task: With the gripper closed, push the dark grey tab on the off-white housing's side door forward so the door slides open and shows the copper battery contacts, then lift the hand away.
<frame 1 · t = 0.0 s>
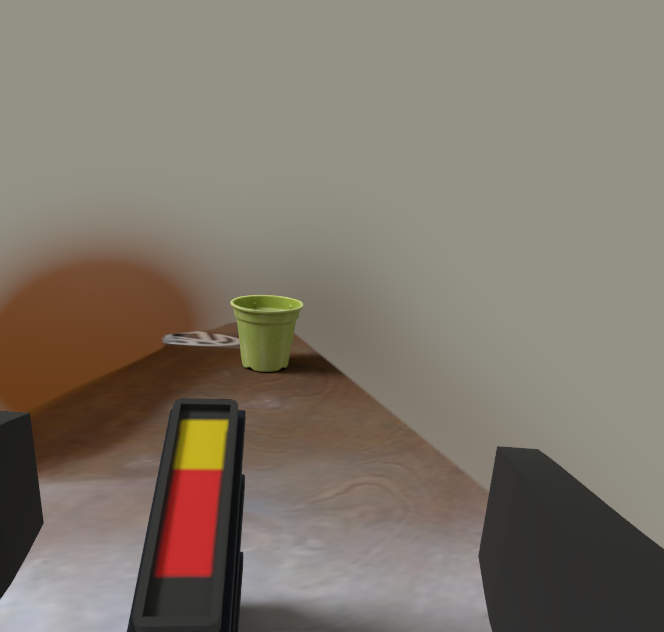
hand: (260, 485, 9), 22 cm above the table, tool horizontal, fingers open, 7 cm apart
plant pot: (265, 366, 80), on the table
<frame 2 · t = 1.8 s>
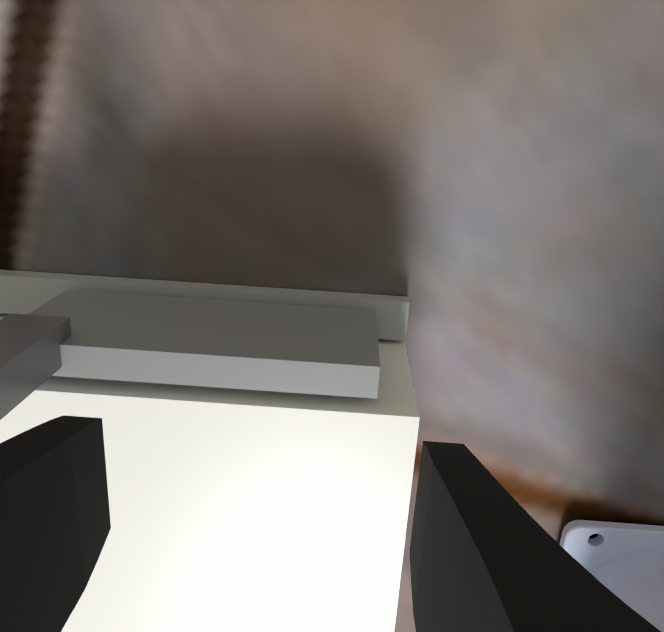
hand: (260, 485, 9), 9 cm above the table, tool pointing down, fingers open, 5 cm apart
camera housing: (93, 428, 20), on the table
side door: (186, 353, 14), point 5 cm above the table, slide at 0.0 cm
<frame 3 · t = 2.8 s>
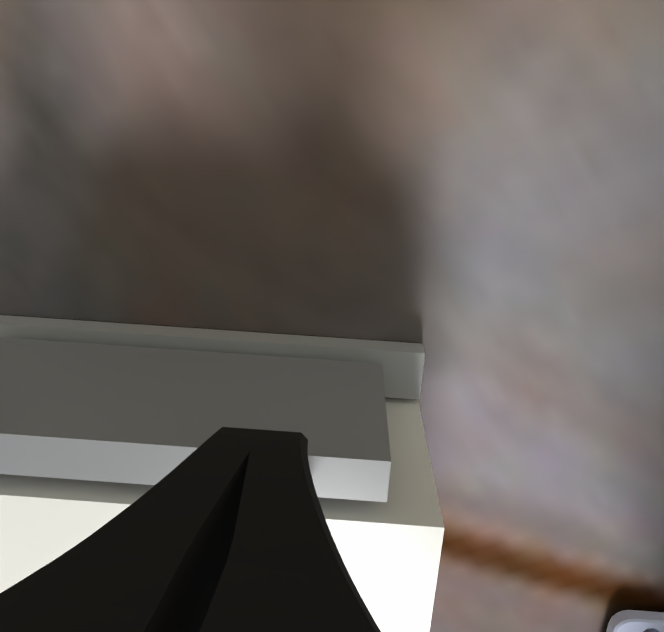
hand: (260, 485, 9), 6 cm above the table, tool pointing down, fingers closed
camera housing: (37, 499, 16), on the table
side door: (129, 438, 10), point 5 cm above the table, slide at 0.0 cm
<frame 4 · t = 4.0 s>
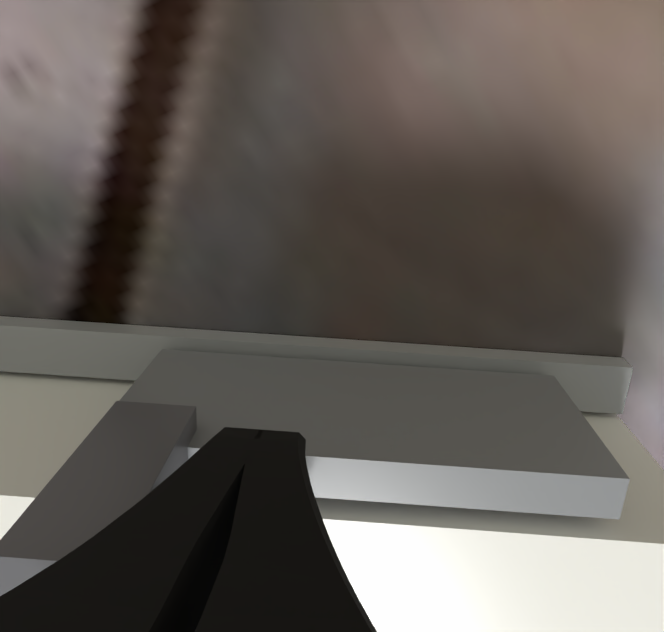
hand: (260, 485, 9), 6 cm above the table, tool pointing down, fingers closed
camera housing: (211, 512, 16), on the table
side door: (354, 455, 10), point 5 cm above the table, slide at 0.9 cm, touching gripper
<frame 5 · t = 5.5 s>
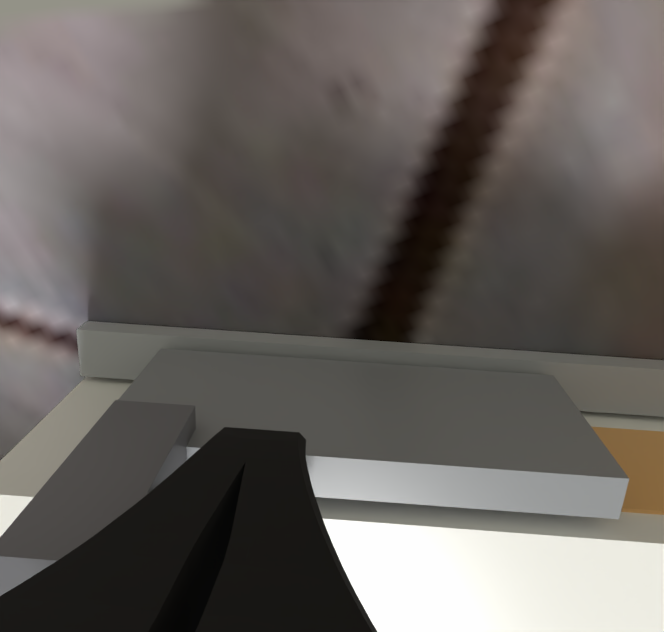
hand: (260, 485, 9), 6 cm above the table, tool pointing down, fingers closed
camera housing: (468, 531, 16), on the table
side door: (354, 454, 10), point 5 cm above the table, slide at 7.9 cm, touching gripper
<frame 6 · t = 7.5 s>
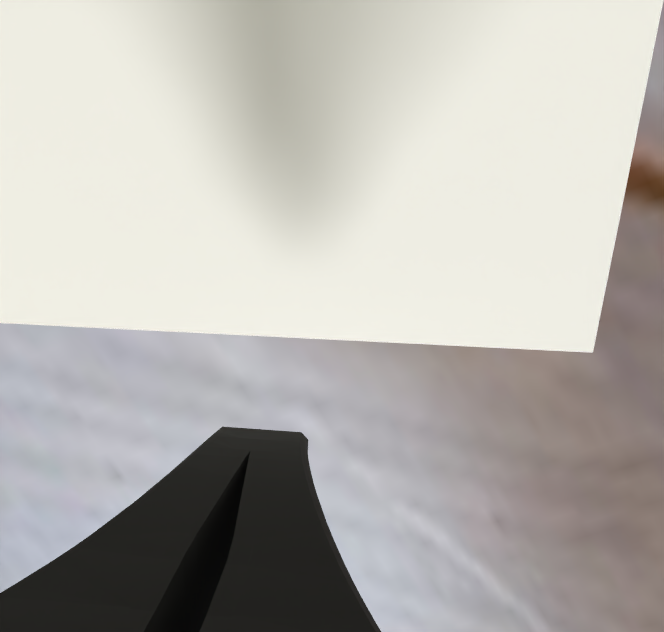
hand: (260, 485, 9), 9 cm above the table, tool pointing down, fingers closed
camera housing: (187, 131, 16), on the table
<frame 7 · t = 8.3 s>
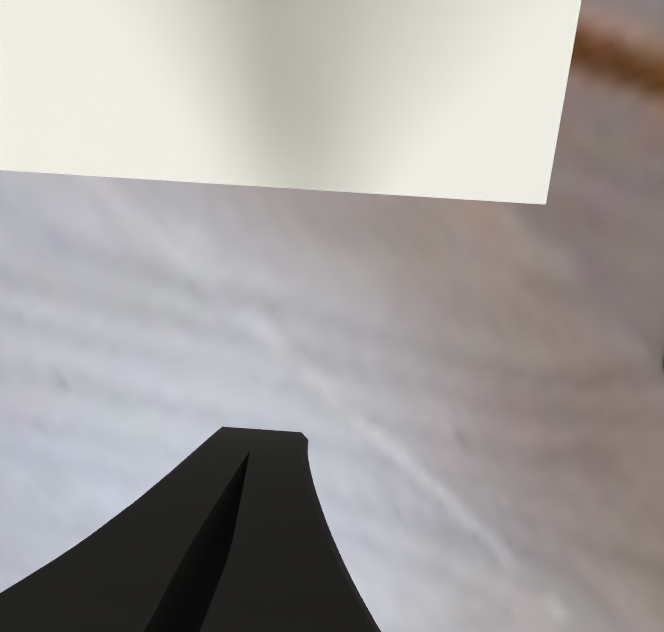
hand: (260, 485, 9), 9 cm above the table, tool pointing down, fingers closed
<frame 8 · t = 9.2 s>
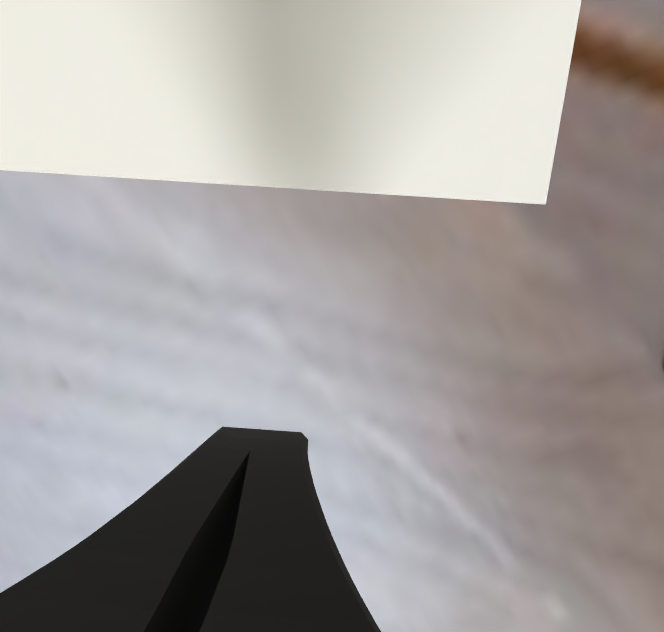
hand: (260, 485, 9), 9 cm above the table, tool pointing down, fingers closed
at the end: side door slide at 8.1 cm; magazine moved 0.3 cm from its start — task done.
